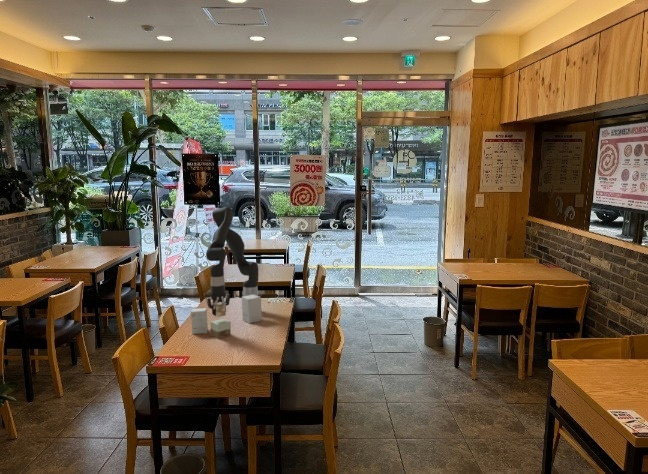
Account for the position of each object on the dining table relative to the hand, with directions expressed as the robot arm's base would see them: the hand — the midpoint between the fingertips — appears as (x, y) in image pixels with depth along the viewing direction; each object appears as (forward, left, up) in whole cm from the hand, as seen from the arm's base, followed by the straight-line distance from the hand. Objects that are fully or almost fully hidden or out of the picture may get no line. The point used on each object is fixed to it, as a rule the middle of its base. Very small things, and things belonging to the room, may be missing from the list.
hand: (219, 314), depth 251 cm
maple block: (0, 0, -1) cm, 1 cm away
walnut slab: (0, 0, -12) cm, 12 cm away
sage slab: (0, 0, -8) cm, 8 cm away
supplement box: (-27, -11, -12) cm, 32 cm away
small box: (+6, -13, -12) cm, 19 cm away
